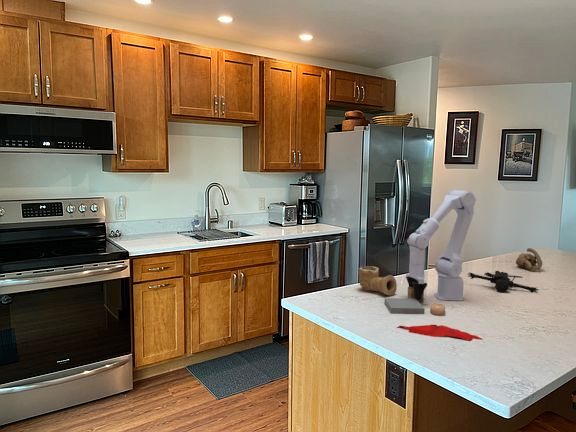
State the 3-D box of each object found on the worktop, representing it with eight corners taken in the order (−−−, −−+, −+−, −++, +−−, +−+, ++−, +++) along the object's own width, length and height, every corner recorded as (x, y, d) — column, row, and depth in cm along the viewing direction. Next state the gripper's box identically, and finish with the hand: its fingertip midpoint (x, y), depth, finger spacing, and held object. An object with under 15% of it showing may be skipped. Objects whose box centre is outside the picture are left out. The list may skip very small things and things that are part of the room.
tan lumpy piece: (519, 273, 235) (538, 274, 220) (507, 263, 234) (525, 263, 220) (530, 255, 237) (551, 255, 222) (519, 245, 237) (538, 244, 222)
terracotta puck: (442, 311, 158) (442, 303, 157) (446, 316, 153) (447, 308, 152) (428, 311, 158) (428, 303, 157) (432, 315, 153) (432, 307, 152)
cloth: (486, 336, 136) (487, 329, 136) (480, 351, 124) (480, 343, 124) (405, 320, 150) (405, 314, 149) (392, 332, 138) (393, 325, 138)
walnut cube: (419, 299, 173) (420, 287, 172) (423, 303, 168) (423, 290, 167) (407, 298, 173) (407, 286, 172) (410, 302, 168) (411, 290, 167)
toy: (468, 273, 215) (464, 285, 188) (471, 259, 214) (467, 269, 187) (532, 288, 203) (538, 303, 176) (536, 274, 202) (542, 286, 175)
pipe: (386, 298, 172) (386, 274, 171) (353, 290, 184) (354, 267, 183) (397, 294, 179) (398, 270, 178) (365, 286, 190) (366, 264, 189)
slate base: (415, 303, 166) (415, 298, 166) (424, 313, 154) (424, 308, 154) (384, 303, 166) (384, 298, 166) (390, 313, 155) (391, 307, 154)
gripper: (402, 259, 176) (401, 291, 177) (411, 267, 161) (410, 302, 163) (419, 259, 176) (418, 292, 177) (430, 267, 161) (428, 302, 163)
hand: (415, 297), depth 170 cm, fingers open, 7 cm apart
